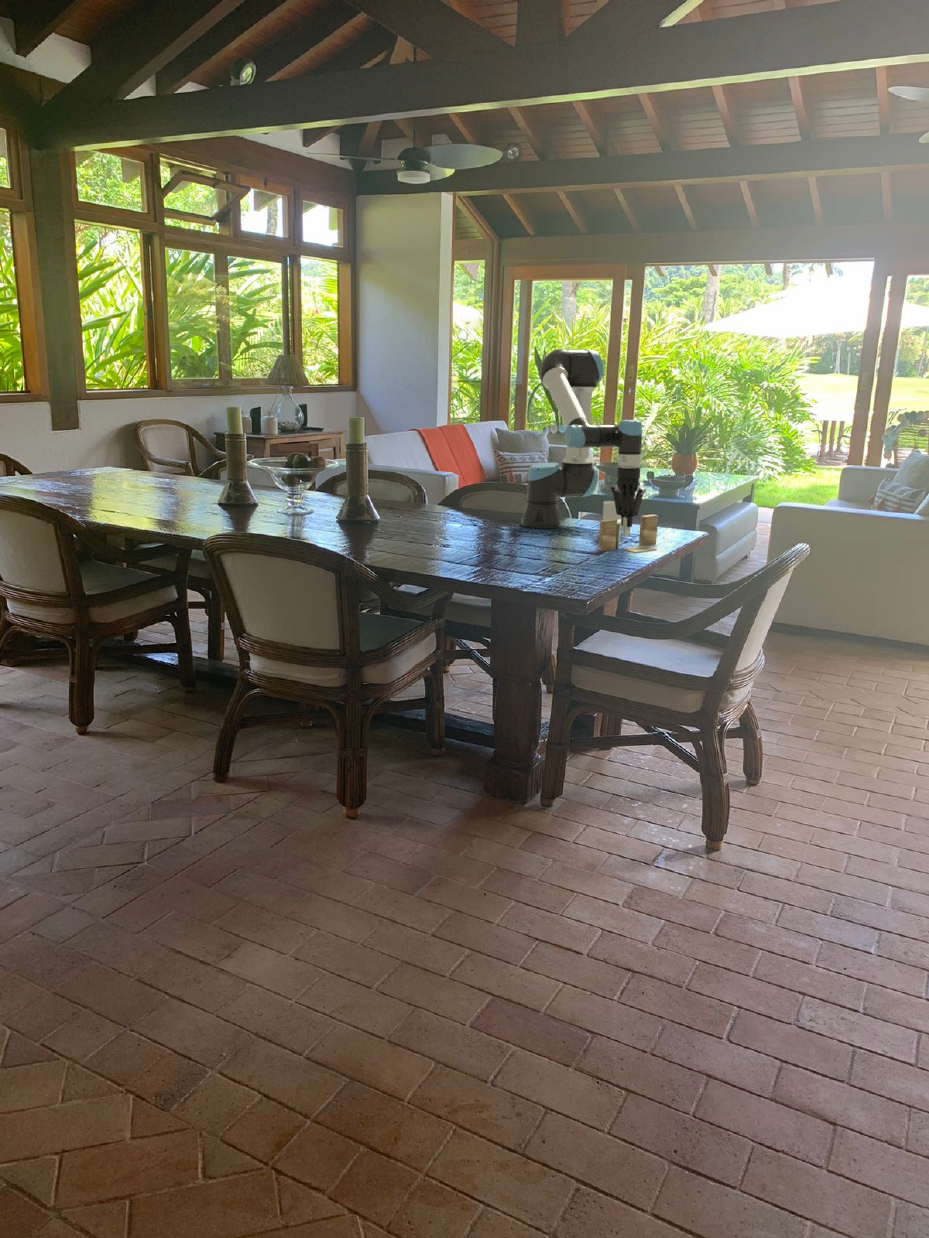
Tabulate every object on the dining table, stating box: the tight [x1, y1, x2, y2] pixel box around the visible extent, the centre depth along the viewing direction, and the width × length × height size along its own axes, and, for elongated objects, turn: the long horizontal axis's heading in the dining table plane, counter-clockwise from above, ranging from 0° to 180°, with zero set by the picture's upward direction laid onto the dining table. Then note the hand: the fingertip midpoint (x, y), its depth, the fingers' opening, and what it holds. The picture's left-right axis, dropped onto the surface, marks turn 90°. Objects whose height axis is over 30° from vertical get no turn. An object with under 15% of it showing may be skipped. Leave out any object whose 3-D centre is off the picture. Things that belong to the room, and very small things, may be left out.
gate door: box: [615, 520, 622, 549], centre depth 320 cm, size 12×1×8 cm, turn 168°
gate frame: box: [598, 514, 659, 554], centre depth 315 cm, size 10×25×10 cm, turn 125°
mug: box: [602, 500, 623, 530], centre depth 337 cm, size 10×7×12 cm, turn 72°
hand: (626, 536), depth 320 cm, fingers closed
